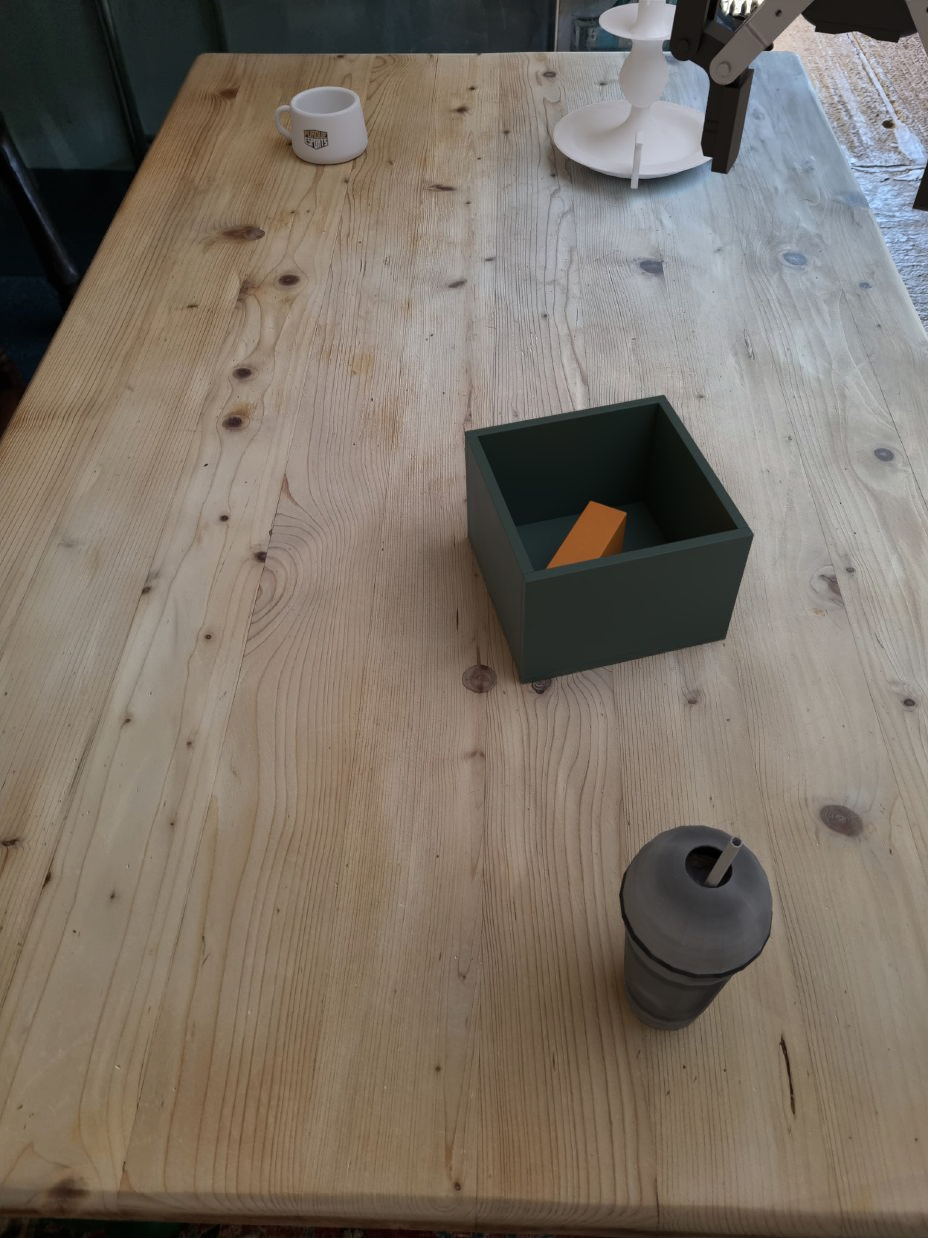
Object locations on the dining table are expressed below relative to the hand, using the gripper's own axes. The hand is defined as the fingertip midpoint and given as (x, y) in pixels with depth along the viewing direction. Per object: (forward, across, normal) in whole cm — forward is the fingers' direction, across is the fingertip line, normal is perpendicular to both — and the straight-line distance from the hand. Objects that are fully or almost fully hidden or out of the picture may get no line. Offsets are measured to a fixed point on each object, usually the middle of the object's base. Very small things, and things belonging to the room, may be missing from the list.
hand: (821, 183), depth 43 cm
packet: (+33, -10, +9) cm, 35 cm away
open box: (+36, -10, +6) cm, 38 cm away
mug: (+36, -68, +63) cm, 100 cm away
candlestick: (+36, -30, +73) cm, 87 cm away
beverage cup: (+36, +5, -22) cm, 43 cm away
